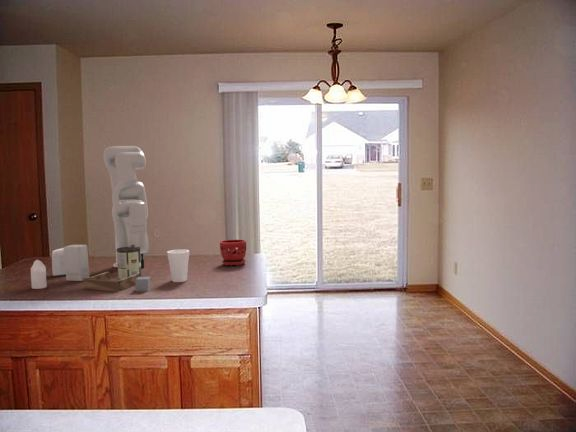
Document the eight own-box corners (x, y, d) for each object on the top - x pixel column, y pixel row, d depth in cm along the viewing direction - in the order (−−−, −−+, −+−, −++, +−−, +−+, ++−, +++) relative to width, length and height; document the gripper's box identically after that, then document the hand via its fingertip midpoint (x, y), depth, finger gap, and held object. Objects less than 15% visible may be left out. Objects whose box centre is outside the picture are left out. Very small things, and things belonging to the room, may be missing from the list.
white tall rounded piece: (43, 257, 249) (46, 259, 245) (45, 285, 250) (48, 287, 246) (28, 259, 246) (31, 261, 241) (30, 287, 247) (33, 289, 242)
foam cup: (171, 283, 249) (170, 254, 247) (165, 279, 257) (164, 250, 255) (193, 281, 253) (192, 251, 251) (186, 277, 261) (185, 248, 260)
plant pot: (251, 263, 292) (251, 239, 290) (236, 267, 281) (235, 243, 279) (231, 260, 299) (230, 237, 297) (215, 265, 288) (214, 241, 286)
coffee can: (128, 276, 266) (126, 245, 264) (146, 277, 261) (145, 246, 260) (113, 280, 256) (111, 249, 255) (131, 282, 252) (130, 250, 251)
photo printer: (74, 272, 277) (73, 246, 276) (76, 273, 274) (75, 247, 272) (51, 275, 271) (50, 248, 270) (53, 276, 268) (52, 250, 266)
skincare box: (90, 278, 262) (88, 244, 260) (80, 281, 256) (78, 246, 254) (74, 277, 265) (72, 243, 263) (65, 280, 259) (62, 246, 257)
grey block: (138, 288, 241) (138, 276, 241) (150, 288, 242) (150, 276, 241) (135, 291, 236) (135, 279, 236) (148, 291, 237) (147, 279, 236)
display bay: (107, 280, 257) (106, 271, 257) (140, 282, 252) (139, 273, 251) (83, 288, 242) (83, 279, 242) (118, 291, 237) (117, 281, 236)
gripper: (140, 226, 272) (142, 265, 274) (121, 231, 258) (123, 271, 260) (154, 227, 270) (155, 265, 272) (136, 231, 256) (138, 272, 258)
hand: (140, 268), depth 266 cm, fingers closed
